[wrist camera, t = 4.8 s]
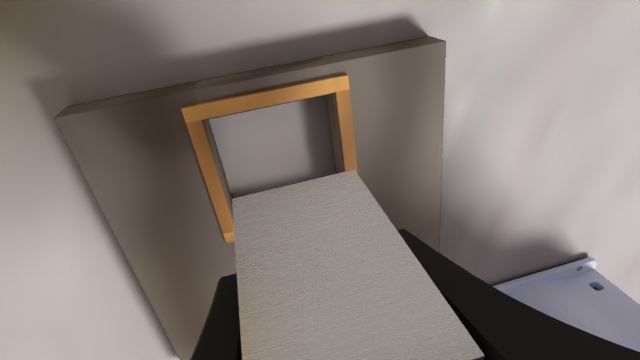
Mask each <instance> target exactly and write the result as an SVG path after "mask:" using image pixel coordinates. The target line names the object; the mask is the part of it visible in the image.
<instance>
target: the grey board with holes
mask: <svg viewBox="0 0 640 360" xmlns="http://www.w3.org/2000/svg"><path fill="white" fill-rule="evenodd" d="M445 58H446V41H444V40H440V39H437V38H434V37H430V36H428V37H423V38H418V39H413V40H408V41H402V42H397V43H392V44H387V45H382V46H377V47H371V48H366V49H361V50H356V51H351V52H346V53H341V54H335V55H330V56H325V57H320V58H315V59H310V60H304V61H299V62H294V63H289V64H284V65H279V66H273V67H268V68H263V69H258V70H253V71H248V72H242V73H237V74H232V75H227V76H222V77H217V78H211V79H206V80H201V81H196V82H191V83H186V84H180V85H175V86H170V87H165V88H160V89H155V90H149V91H144V92H139V93H134V94H129V95H124V96H118V97H113V98H108V99H103V100H98V101H93V102H87V103H82V104H77V105H72V106H67V107H66V108H65V109H64V110H63V111H62V112H60V113H59V114H58V115H57V116H56V117H55V118H54V120H55V122H56V124H57V126H58V127H59V129H60V131H61V133H62V135H63V137H64V139H65V141H66V143H67V145H68V147H69V148H70V150H71V152H72V154H73V156H74V158H75V160H76V162H77V164H78V166H79V168H80V170H81V171H82V173H83V175H84V177H85V179H86V181H87V183H88V185H89V187H90V189H91V191H92V192H93V194H94V196H95V198H96V200H97V202H98V204H99V206H100V208H101V210H102V212H103V214H104V215H105V217H106V219H107V221H108V223H109V225H110V227H111V229H112V231H113V233H114V235H115V236H116V238H117V240H118V242H119V244H120V246H121V248H122V250H123V252H124V254H125V256H126V258H127V259H128V261H129V263H130V265H131V267H132V269H133V271H134V273H135V275H136V277H137V279H138V280H139V282H140V284H141V286H142V288H143V290H144V292H145V294H146V296H147V298H148V300H149V302H150V303H151V305H152V307H153V309H154V311H155V313H156V315H157V317H158V319H159V321H160V323H161V324H162V326H163V328H164V330H165V332H166V334H167V336H168V338H169V340H170V342H171V344H172V346H173V347H174V349H175V351H176V353H177V355H178V357H179V359H180V360H190V359H191V357H192V355H193V352H194V350H195V347H196V345H197V342H198V340H199V337H200V335H201V332H202V329H203V327H204V324H205V322H206V319H207V316H208V313H209V310H210V307H211V304H212V301H213V298H214V294H215V291H216V287H217V284H218V281H219V279H220V278H221V277H224V276H228V275H231V274H235V273H237V270H236V254H235V238H234V222H233V206H232V196H231V192H230V189H229V186H228V182H227V179H226V176H225V172H224V169H223V166H222V162H221V159H220V156H219V153H218V149H217V146H216V143H215V139H214V136H213V133H212V129H211V126H210V123H209V120H208V119H212V118H217V117H222V116H227V115H232V114H237V113H241V112H246V111H251V110H256V109H261V108H265V107H270V106H275V105H280V104H285V103H289V102H294V101H299V100H304V99H309V98H313V97H318V96H323V95H326V100H327V108H328V116H329V123H330V131H331V139H332V146H333V154H334V162H335V169H336V174H338V173H342V172H346V171H350V170H355V171H356V172H357V174H358V175H359V177H360V178H361V180H362V181H363V182H364V184H365V185H366V187H367V188H368V190H369V191H370V192H371V194H372V195H373V197H374V198H375V200H376V201H377V203H378V204H379V205H380V207H381V208H382V210H383V211H384V213H385V214H386V215H387V217H388V218H389V220H390V221H391V223H392V224H393V225H394V227H395V228H396V230H401V229H405V230H407V231H408V232H410V233H411V234H413V235H414V236H416V237H417V238H419V239H420V240H421V241H423V242H424V243H426V244H427V245H429V246H430V247H431V248H433V249H434V250H436V251H437V252H439V240H440V209H441V179H442V149H443V119H444V88H445Z"/></svg>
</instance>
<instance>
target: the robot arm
mask: <svg viewBox="0 0 640 360" xmlns="http://www.w3.org/2000/svg"><path fill="white" fill-rule="evenodd" d="M397 231H398V233H399V234H400V235H401V237H402V238H403V240H404V241H405V243H406V244H407V245H408V247H409V248H410V250H411V251H412V253H413V254H414V255H415V257H416V258H417V260H418V261H419V263H420V264H421V265H422V267H423V268H424V270H425V271H426V273H427V274H428V275H429V277H430V278H431V280H432V281H433V283H434V284H435V285H436V287H437V288H438V290H439V291H440V293H441V294H442V295H443V297H444V298H445V300H446V301H447V303H448V304H449V305H450V307H451V308H452V310H453V311H454V313H455V314H456V315H457V317H458V318H459V320H460V321H461V323H462V324H463V325H464V327H465V328H466V330H467V331H468V333H469V334H470V335H471V337H472V338H473V340H474V341H475V343H476V344H477V345H478V347H479V348H480V350H481V351H482V353H483V354H484V355H485V357H484V360H640V305H639V304H638V303H637V302H635V301H634V300H633V299H632V298H630V297H629V296H628V295H627V294H625V293H624V292H623V291H621V290H620V289H619V288H618V287H616V286H615V285H614V284H613V283H611V282H610V281H609V280H607V279H606V278H605V277H604V276H602V275H601V274H600V273H598V272H597V271H596V270H595V267H596V264H597V261H596V260H595V259H593V258H592V257H589V258H585V259H582V260H579V261H575V262H572V263H569V264H565V265H562V266H558V267H555V268H552V269H548V270H545V271H542V272H538V273H535V274H532V275H528V276H525V277H522V278H518V279H515V280H511V281H508V282H505V283H501V284H498V285H495V286H491V285H489V284H487V283H486V282H484V281H482V280H481V279H479V278H477V277H476V276H474V275H472V274H471V273H469V272H468V271H466V270H464V269H463V268H461V267H460V266H458V265H457V264H455V263H454V262H452V261H451V260H449V259H448V258H446V257H445V256H443V255H442V254H440V253H439V252H437V251H436V250H434V249H433V248H431V247H430V246H429V245H427V244H426V243H424V242H423V241H421V240H420V239H419V238H417V237H416V236H414V235H413V234H411V233H410V232H408V231H407V230H405V229H401V230H397ZM190 360H242V350H241V334H240V318H239V302H238V286H237V273H235V274H231V275H228V276H224V277H221V278H220V279H219V281H218V284H217V287H216V291H215V294H214V298H213V301H212V304H211V307H210V310H209V313H208V316H207V319H206V322H205V324H204V327H203V329H202V332H201V335H200V337H199V340H198V342H197V345H196V347H195V350H194V352H193V355H192V357H191V359H190Z"/></svg>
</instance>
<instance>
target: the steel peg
mask: <svg viewBox="0 0 640 360" xmlns="http://www.w3.org/2000/svg"><path fill="white" fill-rule="evenodd" d="M232 206H233V222H234V238H235V254H236V270H237V286H238V302H239V318H240V334H241V350H242V360H484V357H485V355H484V354H483V353H482V351H481V350H480V348H479V347H478V345H477V344H476V343H475V341H474V340H473V338H472V337H471V335H470V334H469V333H468V331H467V330H466V328H465V327H464V325H463V324H462V323H461V321H460V320H459V318H458V317H457V315H456V314H455V313H454V311H453V310H452V308H451V307H450V305H449V304H448V303H447V301H446V300H445V298H444V297H443V295H442V294H441V293H440V291H439V290H438V288H437V287H436V285H435V284H434V283H433V281H432V280H431V278H430V277H429V275H428V274H427V273H426V271H425V270H424V268H423V267H422V265H421V264H420V263H419V261H418V260H417V258H416V257H415V255H414V254H413V253H412V251H411V250H410V248H409V247H408V245H407V244H406V243H405V241H404V240H403V238H402V237H401V235H400V234H399V233H398V231H397V230H396V228H395V227H394V225H393V224H392V223H391V221H390V220H389V218H388V217H387V215H386V214H385V213H384V211H383V210H382V208H381V207H380V205H379V204H378V203H377V201H376V200H375V198H374V197H373V195H372V194H371V192H370V191H369V190H368V188H367V187H366V185H365V184H364V182H363V181H362V180H361V178H360V177H359V175H358V174H357V172H356V171H355V170H350V171H346V172H342V173H338V174H333V175H329V176H325V177H321V178H317V179H312V180H308V181H304V182H300V183H296V184H292V185H287V186H283V187H279V188H275V189H271V190H266V191H262V192H258V193H254V194H250V195H245V196H241V197H237V198H233V199H232Z"/></svg>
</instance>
